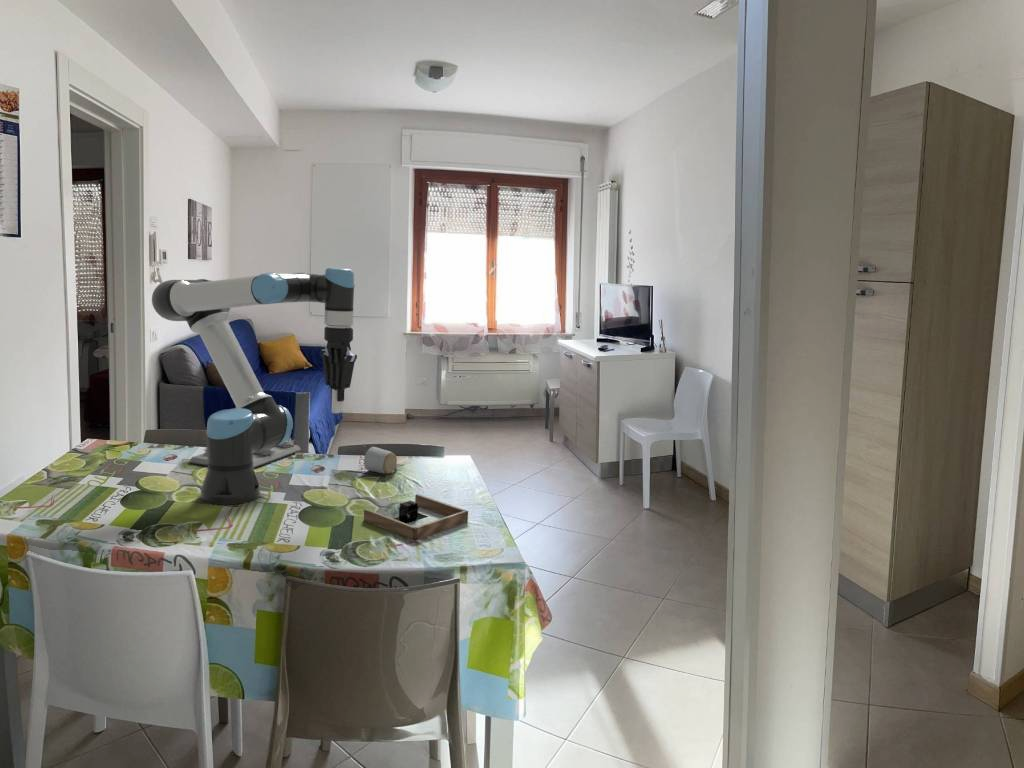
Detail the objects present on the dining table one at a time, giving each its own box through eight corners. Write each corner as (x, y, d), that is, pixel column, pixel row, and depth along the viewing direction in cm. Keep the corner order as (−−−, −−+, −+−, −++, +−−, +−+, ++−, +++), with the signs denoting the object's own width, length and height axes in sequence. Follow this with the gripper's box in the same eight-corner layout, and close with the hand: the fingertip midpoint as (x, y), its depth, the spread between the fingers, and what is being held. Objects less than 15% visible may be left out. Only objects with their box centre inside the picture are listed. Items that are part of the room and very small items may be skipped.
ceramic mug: (384, 477, 229) (385, 453, 228) (362, 472, 232) (363, 448, 231) (403, 470, 238) (404, 446, 237) (382, 465, 242) (383, 442, 240)
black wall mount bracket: (399, 529, 187) (400, 512, 187) (380, 522, 192) (380, 505, 191) (434, 517, 197) (435, 501, 196) (415, 511, 202) (415, 494, 201)
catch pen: (414, 540, 179) (415, 528, 179) (363, 520, 191) (364, 509, 190) (467, 521, 194) (468, 510, 193) (417, 504, 205) (417, 494, 205)
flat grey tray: (250, 444, 260) (250, 424, 259) (302, 452, 253) (302, 432, 252) (187, 464, 232) (187, 442, 231) (244, 474, 225) (244, 451, 224)
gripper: (365, 328, 198) (363, 414, 202) (334, 323, 206) (333, 406, 210) (343, 329, 192) (341, 418, 196) (312, 324, 200) (311, 410, 204)
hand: (337, 412), depth 203 cm, fingers closed
